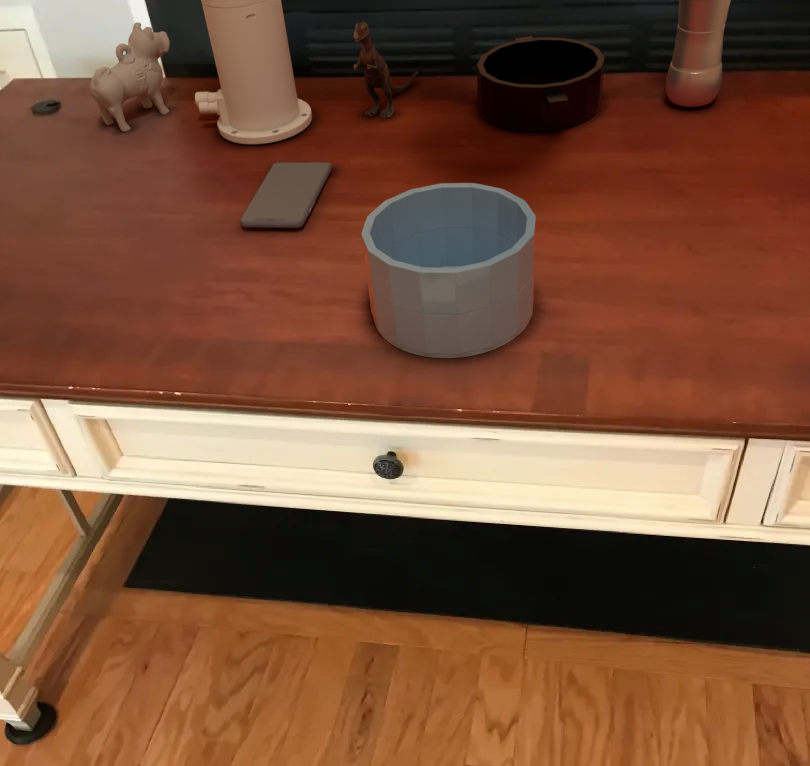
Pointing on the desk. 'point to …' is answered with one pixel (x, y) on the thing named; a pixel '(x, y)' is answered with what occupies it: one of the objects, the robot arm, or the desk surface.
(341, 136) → the desk surface
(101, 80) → the dog figurine
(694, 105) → the plastic bottle
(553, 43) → the pan
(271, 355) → the desk surface
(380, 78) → the dinosaur model
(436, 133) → the desk surface
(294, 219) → the smartphone
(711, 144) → the desk surface
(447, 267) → the pot
